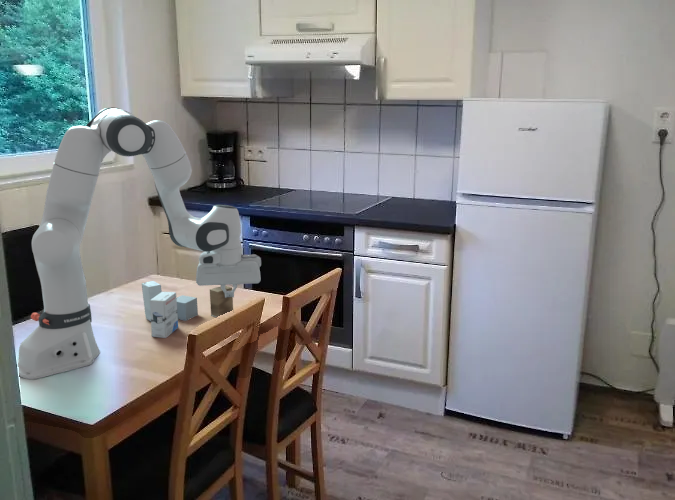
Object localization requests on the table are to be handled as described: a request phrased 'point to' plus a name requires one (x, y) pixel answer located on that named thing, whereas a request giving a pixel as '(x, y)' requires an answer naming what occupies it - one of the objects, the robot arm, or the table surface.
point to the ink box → (164, 314)
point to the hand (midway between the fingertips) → (229, 297)
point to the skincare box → (149, 295)
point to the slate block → (186, 307)
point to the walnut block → (220, 301)
